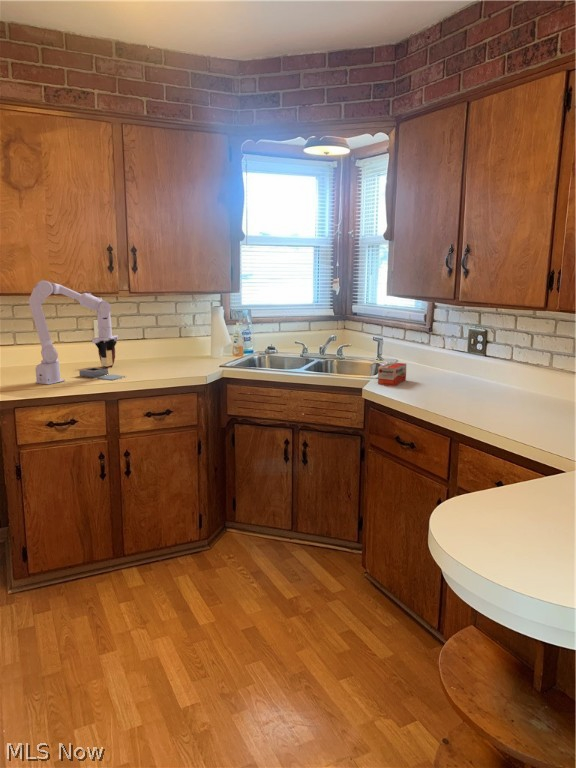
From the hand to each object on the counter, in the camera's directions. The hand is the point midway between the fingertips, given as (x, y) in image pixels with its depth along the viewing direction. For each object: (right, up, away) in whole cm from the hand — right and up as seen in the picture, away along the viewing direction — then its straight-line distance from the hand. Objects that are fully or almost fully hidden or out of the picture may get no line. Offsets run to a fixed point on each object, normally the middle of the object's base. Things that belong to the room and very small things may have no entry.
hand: (106, 357), depth 252 cm
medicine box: (+129, -12, -8) cm, 130 cm away
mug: (-9, -4, +29) cm, 30 cm away
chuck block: (-8, -9, +6) cm, 13 cm away
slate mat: (+2, -10, +1) cm, 10 cm away
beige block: (0, -4, +1) cm, 4 cm away
